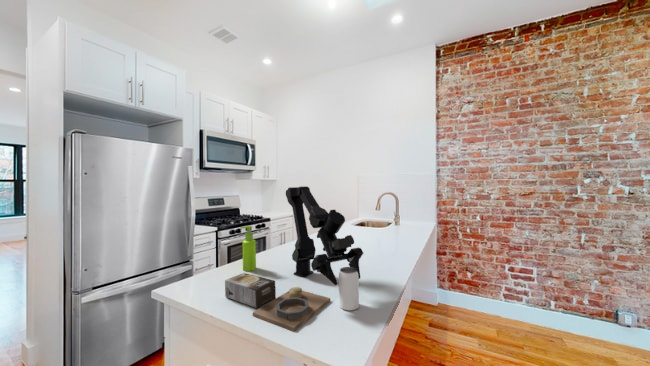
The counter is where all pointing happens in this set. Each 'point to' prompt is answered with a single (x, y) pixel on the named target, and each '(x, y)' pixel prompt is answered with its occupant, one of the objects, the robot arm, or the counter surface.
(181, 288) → the counter surface
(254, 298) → the coffee box
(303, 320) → the carrier board
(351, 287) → the can
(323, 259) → the robot arm
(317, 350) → the counter surface
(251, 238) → the soap dispenser
